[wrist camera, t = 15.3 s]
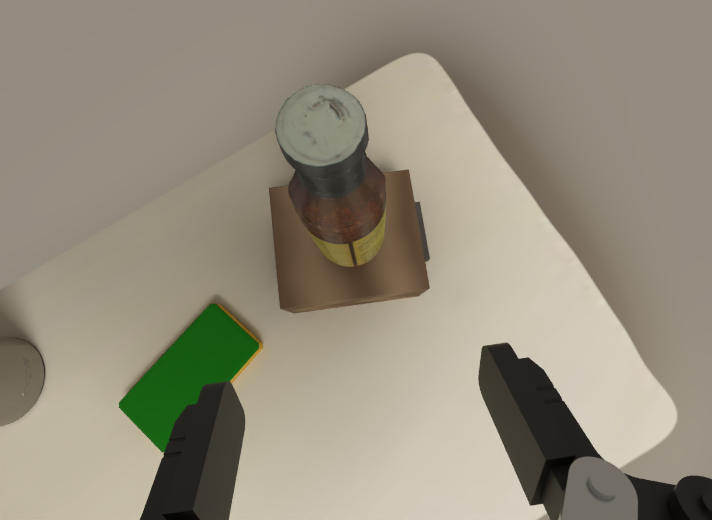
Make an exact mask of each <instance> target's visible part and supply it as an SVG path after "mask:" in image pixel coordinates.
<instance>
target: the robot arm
mask: <svg viewBox="0 0 712 520" xmlns="http://www.w3.org/2000/svg"><path fill="white" fill-rule="evenodd" d="M478 378H479V386H480V391H481V394H482V397H483V399H484V401H485V403H486V406H487V408H488V410H489V413H490V415H491V417H492V419H493V422H494V424H495V426H496V428H497V431H498V433H499V435H500V438H501V440H502V442H503V444H504V447H505V449H506V451H507V454H508V456H509V458H510V460H511V463H512V465H513V467H514V469H515V472H516V474H517V476H518V479H519V481H520V483H521V485H522V488H523V490H524V492H525V495H526V497H527V499H528V501H529V504H530V506H531V505H537V504H543V505H544V507H545V509H546V511H547V513H548V515H549V520H712V479H710V478H706V477H702V476H687V477H684V478H682V479H681V480H680V481H679V482H678V484H677V485H672V484H666V483H661V482H656V481H650V480H645V479H639V478H635V477H632V476H630V475H627V474H625V473H623V472H622V471H621V470H620V469H618V468H617V467H616V466H614V465H613V464H611V463H609V462H607V461H605V460H604V459H603V458H602V457H601V456H600V455H599V454H598V453H597V451H596V450H595V449H594V447H593V445H592V444H591V442H590V441H589V439H588V438H587V436H586V435H585V433H584V432H583V430H582V428H581V427H580V425H579V424H578V422H577V421H576V419H575V418H574V416H573V415H572V413H571V411H570V410H569V408H568V407H567V405H566V404H565V402H564V401H562V398H561V396H560V394H559V393H558V391H557V390H556V388H554V386H553V384H552V382H551V381H550V379H549V377H548V376H547V374H546V373H545V371H544V370H543V369H542V368H541V367H539V366H538V365H537V364H536V363H535V362H533V361H532V360H531V359H530V358H521V359H518V357H517V355H516V354H515V352H514V350H513V349H512V347H511V346H510V345H509V344H508V343H501V344H494V345H486V346H483V347H482V351H481V359H480V368H479V377H478ZM43 382H44V366H43V362H42V359H41V357H40V355H39V353H38V352H37V350H36V349H35V348H34V347H33V346H32V345H31V344H29V343H27V342H26V341H23V340H20V339H17V338H0V426H4V425H7V424H10V423H12V422H14V421H16V420H18V419H19V418H21V417H22V416H23V415H24V414H26V413H27V412H28V411H29V410H30V409H31V407H32V406H33V405H34V404H35V402H36V400H37V399H38V397H39V395H40V392H41V389H42V387H43ZM244 431H245V414H244V410H243V407H242V405H241V403H240V401H239V399H238V396H237V394H236V392H235V390H234V388H233V385H232V384H231V382H230V381H226V382H219V383H212V384H206V385H204V386H203V387H202V389H201V392H200V395H199V398H198V401H197V404H192V405H187V406H186V408H185V409H184V410H183V412H182V413H181V414H180V416H179V417H178V418H177V420H176V421H175V423H174V426H173V429H172V432H171V435H170V437H169V443H167V446H166V449H165V452H164V457H163V458H162V460H161V463H160V466H159V468H158V471H157V474H156V477H155V480H154V482H153V485H152V488H151V491H150V494H149V496H148V499H147V502H146V505H145V508H144V511H143V513H142V516H141V518H140V520H229V515H230V509H231V504H232V498H233V492H234V487H235V481H236V476H237V470H238V464H239V459H240V453H241V448H242V442H243V436H244Z"/></svg>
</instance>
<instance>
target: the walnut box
mask: <svg viewBox="0 0 712 520" xmlns="http://www.w3.org/2000/svg"><path fill="white" fill-rule="evenodd" d="M383 174H384V175H385V179H386V197H387V199H386V219H385V233H384V240H383V244H382V246H381V249H380V250H379V253H378V254H377V255H376V256H375V257H374V258H373V259H371V261H370V262H368V263H366V264H365V265H362V266H360V267H345V266H341V265H338V264H334V263H333V262H332V261H330V260H329V259H328V258H327V257H326V256H325V255H324V254H323V253H322V252H321V250H320V249H319V247H318V246H317V244H316V243H315V241H314V240H313V238H312V237H311V235H310V234H309V232H308V231H307V230H306V228H305V227H304V225H303V224H302V222H301V220H300V218H299V215H298V214H297V213H296V211H295V208H294V206H293V203H292V201H291V199H290V197H289V194H288V186H289V185H288V186H281V187H273V188H269V193H270V204H271V214H272V225H273V236H274V247H275V257H276V268H277V279H278V290H279V300H280V309H283V310H286V311H289V312H292V313H299V312H306V311H314V310H321V309H328V308H336V307H343V306H350V305H357V304H365V303H372V302H379V301H387V300H394V299H401V298H408V297H416V296H419V295H421V294H422V293H424V292H425V291H426V290H428V289H429V288H430V287H429V281H428V276H427V270H426V264H425V262H426V261H428V260H429V259H430V257H429V252H428V246H427V241H426V235H425V229H424V224H423V218H422V213H421V207H420V202H414V197H413V191H412V186H411V180H410V174H409V170H402V171H394V172H387V173H383Z"/></svg>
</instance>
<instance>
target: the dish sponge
mask: <svg viewBox="0 0 712 520" xmlns="http://www.w3.org/2000/svg"><path fill="white" fill-rule="evenodd" d="M262 348H263V343H262V342H261V341H260V340H259V339H258V338H256V337H255V336H254V335H253V334H252V333H251V332H250V331H249V330H248V329H247V328H246V327H245V326H243V325H242V324H241V323H240V322H239V321H238V320H237V319H236V318H235V317H234V316H233V315H232V314H230V313H229V312H228V311H227V310H226V309H225V308H224V307H223V306H222V305H218V304H210V305H209V306H208V307H207V308H206V309H205V310H204V312H203V313H202V314H201V315H200V316H199V317H198V318H197V319H196V320H195V321H194V322H193V323H192V324H191V326H190V327H189V328H188V329H187V330H186V331H185V332H184V333H183V334H182V335H181V336H180V337H179V338H178V340H177V341H176V342H175V343H174V344H173V345H172V346H171V347H170V348H169V349H168V350H167V351H166V352H165V354H164V355H163V356H162V357H161V358H160V359H159V360H158V361H157V362H156V363H155V364H154V365H153V367H152V368H151V369H150V370H149V371H148V372H147V373H146V374H145V375H144V376H143V377H142V378H141V379H140V381H139V382H138V383H137V384H136V385H135V386H134V387H133V388H132V389H131V390H130V391H129V392H128V393H127V395H126V396H125V397H124V398H123V399H122V400H121V401H120V402H119V408H120V409H121V410H122V411H123V412H124V413H125V414H126V415H127V416H128V417H129V418H130V419H131V420H132V421H133V422H134V424H135V425H136V426H137V427H138V428H139V429H140V430H141V431H142V432H143V433H144V434H145V435H146V436H147V437H148V438H149V439H150V440H151V441H152V442H153V443H154V444H155V445H156V446H157V447H158V448H159V450H160V451H161V452H165V449H166V446H167V443H169V437H170V435H171V432H172V429H173V426H174V423H175V421H176V420H177V418H178V417H179V416H180V414H181V413H182V412H183V410H184V409H185V408H186V406H187V405H192V404H197V401H198V398H199V395H200V392H201V389H202V387H203V386H204V385H206V384H212V383H219V382H226V381H230V382H231V384H232V382H233V381H234V380H235V379H236V378H237V377H238V376H239V375H240V373H241V372H242V371H243V370H244V369H245V368H246V367H247V365H248V364H249V363H250V362H251V361H252V360H253V359H254V358H255V356H256V355H257V354H258V353H259V352H260V351H261V350H262Z"/></svg>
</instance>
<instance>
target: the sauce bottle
mask: <svg viewBox="0 0 712 520" xmlns="http://www.w3.org/2000/svg"><path fill="white" fill-rule="evenodd" d="M275 131H276V136H277V140H278V143H279V145H280V148H281V150H282V152H283V154H284V156H285V158H286V160H287V161H288V163H289V164H290V165H291V166H292V167H293V168H294V169H295V173H294V176H293V178H292V180H291V181H290V183H289V186H288V194H289V197H290V199H291V201H292V203H293V206H294V208H295V211H296V213H297V214H298V215H299V218H300V220H301V222H302V224H303V225H304V227H305V228H306V230H307V231H308V232H309V234H310V235H311V237H312V238H313V240H314V241H315V243H316V244H317V246H318V247H319V249H320V250H321V252H322V253H323V254H324V255H325V256H326V257H327V258H328V259H329V260H330V261H332V262H333V263H334V264H338V265H341V266H345V267H360V266H362V265H365V264H366V263H368V262H370V261H371V259H373V258H374V257H375V256H376V255H377V254H378V253H379V250H380V249H381V246H382V244H383V240H384V233H385V219H386V199H387V197H386V179H385V175H384V174H383V173H382V172H381V171H380V170H379V169H378V168H377V167H376V166H375V165H374V164H373V163H372V161H371V160H370V159H369V158H368V157H366V153H365V150H366V147H367V144H368V140H369V137H368V127H367V121H366V115H365V113H364V110H363V108H362V106H361V104H360V102H359V101H358V100H357V99H356V98H355V97H354V96H353V95H351V94H350V93H349V92H347V91H345V90H343V89H341V88H339V87H336V86H332V85H329V84H324V85H323V84H315V85H310V86H307V87H305V88H302V89H300V90H299V91H297V92H296V93H294V94H293V95H292V96H291V97H290V98H288V99H287V100H286V102H285V103H284V105H283V106H282V108H281V110H280V112H279V114H278V117H277V121H276V129H275Z"/></svg>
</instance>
